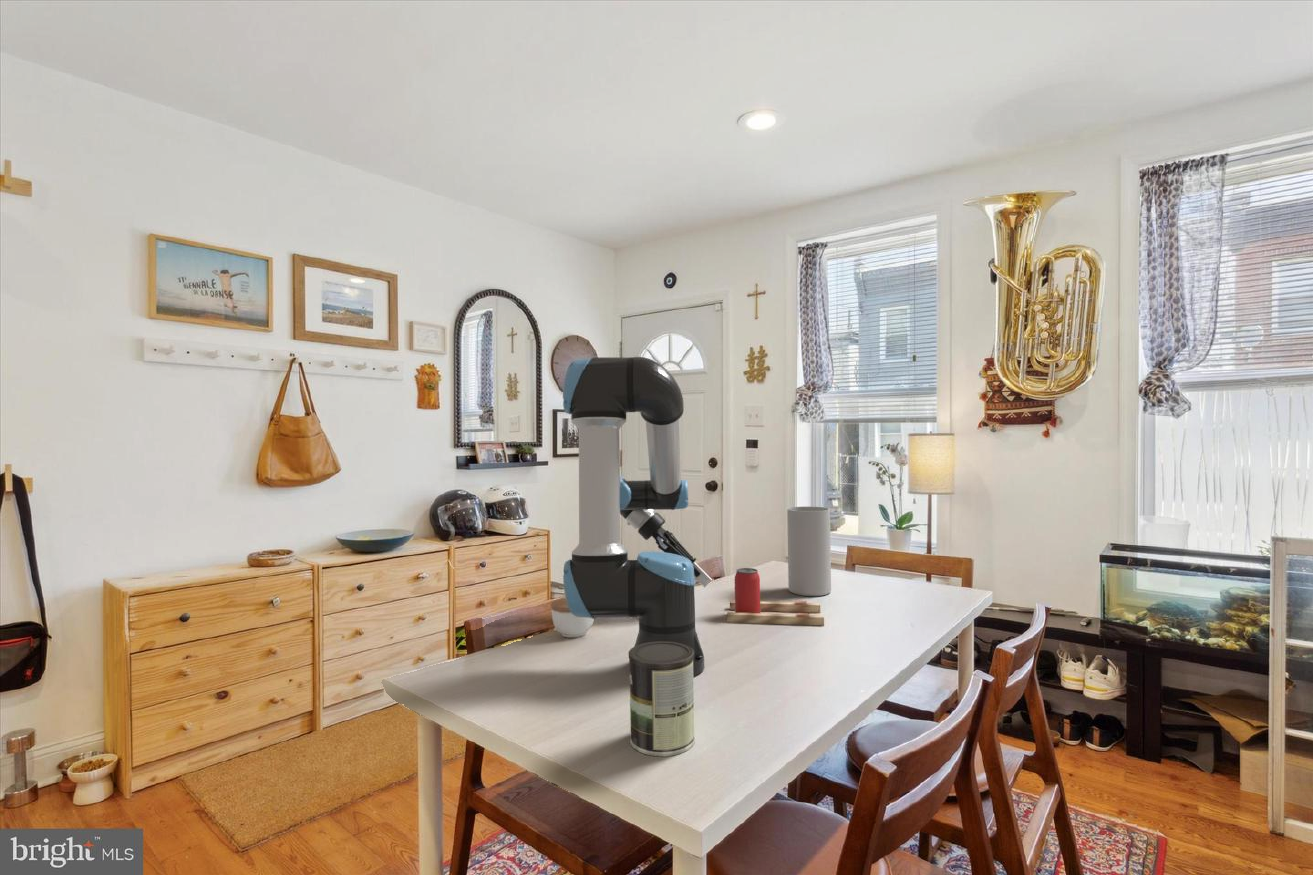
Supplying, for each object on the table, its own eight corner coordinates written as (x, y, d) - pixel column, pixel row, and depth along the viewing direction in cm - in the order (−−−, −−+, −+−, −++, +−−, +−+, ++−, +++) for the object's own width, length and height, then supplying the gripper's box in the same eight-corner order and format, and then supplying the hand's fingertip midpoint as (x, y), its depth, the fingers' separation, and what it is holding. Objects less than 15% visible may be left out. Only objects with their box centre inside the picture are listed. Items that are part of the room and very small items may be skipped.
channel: (727, 622, 163) (726, 612, 163) (730, 607, 176) (730, 599, 176) (824, 625, 158) (823, 615, 158) (819, 610, 172) (819, 601, 172)
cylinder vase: (815, 599, 184) (813, 512, 184) (780, 591, 193) (778, 509, 193) (839, 591, 192) (838, 508, 192) (804, 584, 201) (803, 505, 201)
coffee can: (620, 752, 97) (619, 659, 97) (641, 722, 107) (640, 638, 107) (686, 761, 94) (684, 665, 94) (701, 729, 104) (700, 643, 104)
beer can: (765, 614, 169) (764, 569, 169) (751, 620, 164) (750, 573, 164) (744, 610, 173) (744, 566, 173) (730, 615, 168) (729, 570, 168)
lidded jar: (574, 643, 148) (573, 603, 148) (542, 635, 154) (541, 596, 154) (604, 631, 157) (604, 593, 156) (573, 624, 163) (572, 587, 163)
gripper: (641, 526, 181) (700, 586, 178) (632, 534, 168) (696, 599, 166) (659, 507, 180) (719, 568, 177) (651, 514, 167) (716, 579, 165)
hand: (708, 583), depth 171 cm, fingers closed
